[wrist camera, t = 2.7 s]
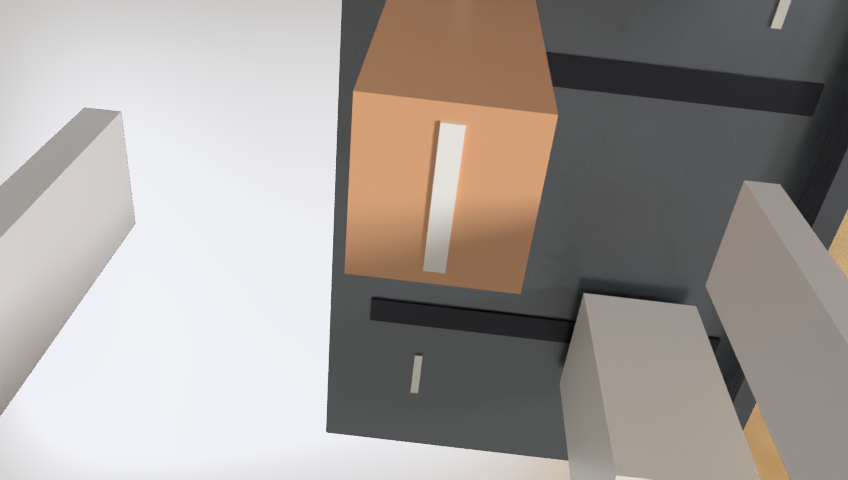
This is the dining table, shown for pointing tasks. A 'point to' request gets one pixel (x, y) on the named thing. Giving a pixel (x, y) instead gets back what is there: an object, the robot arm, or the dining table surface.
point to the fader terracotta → (450, 144)
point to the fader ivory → (648, 396)
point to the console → (598, 209)
